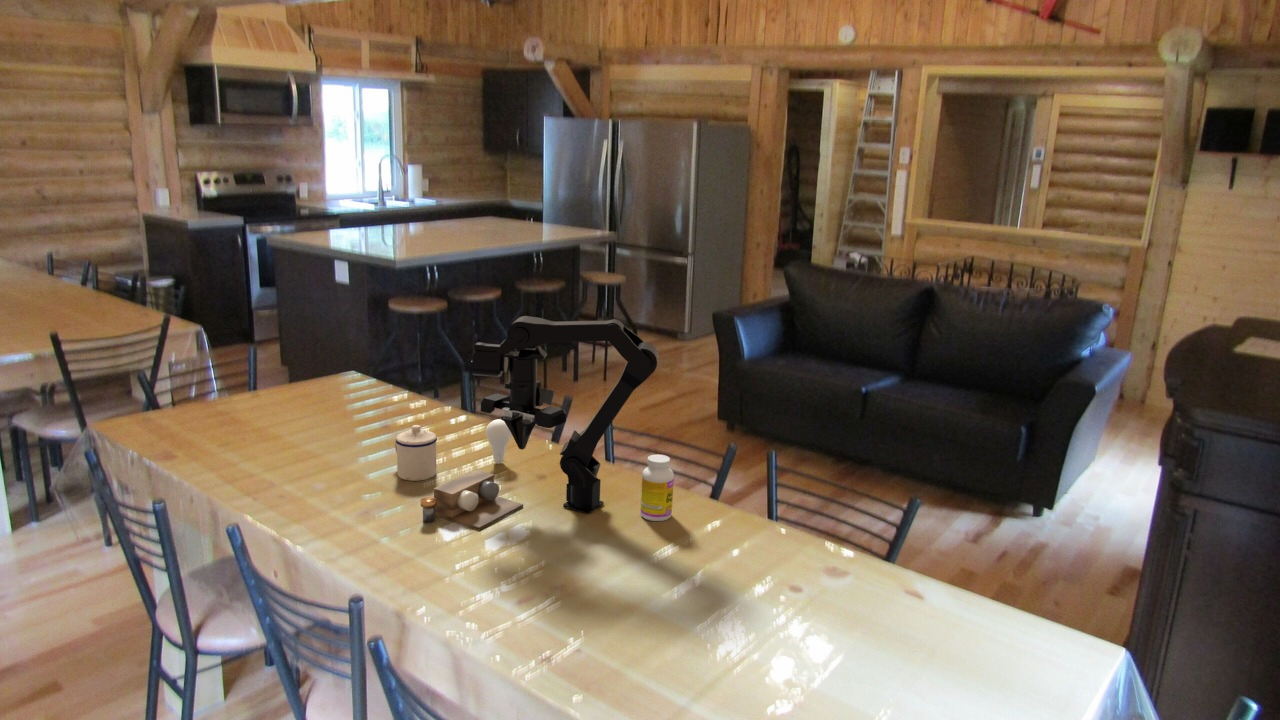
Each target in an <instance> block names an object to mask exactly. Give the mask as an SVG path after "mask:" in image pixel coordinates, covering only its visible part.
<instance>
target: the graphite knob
mask: <svg viewBox="0 0 1280 720" xmlns="http://www.w3.org/2000/svg"><path fill="white" fill-rule="evenodd" d="M499 493H500V487H499V484H498V483H497V482H495V481H494V482H491V481H487V480H485V481H483V482H482V483H481V485H479V490H478V494H479V496H480V497H481V498H483V499H487V500H490V501H493V500H494V499H495V498H496V497H497V496H498V495H499Z"/></svg>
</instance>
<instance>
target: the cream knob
mask: <svg viewBox="0 0 1280 720" xmlns="http://www.w3.org/2000/svg"><path fill="white" fill-rule="evenodd" d="M478 500H479V498H478V495H477V494H476V493H474V492H470V491H467V490H464V491H462V492H461V493H460V494H459V495H458V499H457V505H458V507H459V508H461V509H464V510H467V511H473V510H474V509H475V508H476V506H477V504H478Z"/></svg>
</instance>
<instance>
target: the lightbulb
mask: <svg viewBox="0 0 1280 720" xmlns="http://www.w3.org/2000/svg"><path fill="white" fill-rule="evenodd" d="M485 436H486V439H487V441H488V442H489V444H490V446H491V453H492V457H493V458H492V459H493V462H494V463H496V464H497V465H500V464H502V463H504V462H505V454H506V452H507V451H506V449H507V446H508V443H509V442H510V440H511V438H512V434H511V432H510V430H509V428H508V427H507V425H506V424H505V422H504V421H503V420H501V418H499V419H494V420H492V421H490V422H489V423H488V425H487V427H486V429H485Z"/></svg>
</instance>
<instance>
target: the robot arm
mask: <svg viewBox="0 0 1280 720" xmlns="http://www.w3.org/2000/svg"><path fill="white" fill-rule="evenodd" d="M506 332H507V333H506V337H507V338H505V339H504V340H502V342H501V343H500V344H499V343H498V344H496V343H486V342H480V341H479V342H476V343H475V344H474V345H473V346H474V349H473V353H472V358H471V362H470V369H471V373H472V375H473V376H481V377H482V376H484V377H499V378H500V377H502V374H503V373H507V371H508V382H506V383H504V389H507V390H508V395H505V394H501V393H498V392H497V393H494V394H490V395H488V396H484V397H483V398H482V399H481V401H480V403H479V405H480V406H479V408H480V412H483V413H485V414H493V412H494V411H495V409H499V410H502V411H503V416H501V417H500V419H501V420H503V421H504V422H505V424H506V425H507V427H508V428H509V430H510V432H511V434H512V435H511V437H512V438H513V439H514V442H515V444H516V446H517V447H518V450H521V451H522V450H525V449H526V447H527V445H528V441H529V439H530V436H531V435H532V432H533V430H534V428H535V427H536V426H537V427H541V428H546V429H552V428H555V427H557V426H559V425H561V424H564V423H566V422H567V412H566V411H565V410H564V409H563V408H560V407H555V406H552V404H553V401H554V394H555V390H552V389H548V388H543V387H542V383H541V381H539V380H538V379H537V378H538V360H545V359H546V357H547V356H548V353H547V352H546V351H545V350H544V349H543V348H542V347H541V346H543V345H546V344H551V343H570V342H572V343H573V342H576V343H577V342H581V343H583V342H609V343H610V344H611V345H612V346H613V348H614V349H615V350H616V351H617V352H618V353H619V355H620V356H621V357H622V358H623V359H624V360H625V361H626V364H625V366H624V368H623V371H622V373H621V375H620V377H619V379H618V380H617V382H616V383H615V384H614V386H613V388H612V389H611V390H610V392H609V393H608V395H607V396H606V398H605V399H604V401H603V402H602V403H601V405H600V406H599V408H598V409H597V411H596V412H595V414H594V415H593V417H592V419H591V420H590V421H589V423H588V424H587V426H586V427H585V428H584V429H583V430H582V431H581V432H578V431H576V430H573V432H572V434H571V436H570V438H569V439H568V441H566V442H565V443H564V445H563V446H562V449H561V451H560V453H559V455H560V456H561V457H560V460H559V467H560V469H561V471H562V472H563V473H564V474H565V475H566V476H567V478H568V479H567V482H566V491H565V495H566V496H565V497H566V498H565V500H566V502H564V503H563V506H562V507H564V508H567V509H571V510H573V511H577V512H580V513H583V514H590V513H592V512H593V511H595V510H597V509H598V508H600V507H602V506H604V504H605V502H604V501H603V500H601V478H598V473H599V470H600V468H601V463H600V462H599V460H598V459H596V458H595V457H594V456H593V455H594V453H595V451H596V447H597V446H598V444H599V442H600V440H601V439H602V437H603V435H604V434H605V433H606V432H607V430H608V428H609V427H610V426H611V424H612V423H613V421H614V420H615V418H616V417H617V415H618V414H619V412H620V411H621V409H622V408H623V407H624V405H625V404H626V402H627V401H628V400H629V398H630V397H631V395H632V394H633V392H634V391H635V390H636V389H637V388H639V387H640V386H641V385H642V384H643V383H645V382H646V380H648V378H649V377H651V375H653V373H655V371H656V369H657V367H658V362H659V357H660V356H659V355H660V354H659V350H658V349H657V347H656V346H655V344H653V343H651V342H647V341H644V340H643V339H642V338H641V337H640V336H639V335H637V334H636V333H635V332H634V331H632V330H630V329H629V328H628V327H627V326H625V325H624V324H623V323H622V321H621V320H619V319H614V318H613V319H609V320H573V321H571V320H570V321H568V320H567V321H554V320H549V319H545V318H542V317H536V316H529V315H524V316H523V315H522V316H519V317H518V318H517V319H516V320H514V321H513V322H512V323H511V324H510V326H508V329H507V331H506ZM516 349H517V350H518V349H519V351H514V350H516ZM544 404H547V405H548V406H546V407H543V408H537V407H541V406H543V405H544Z"/></svg>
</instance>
